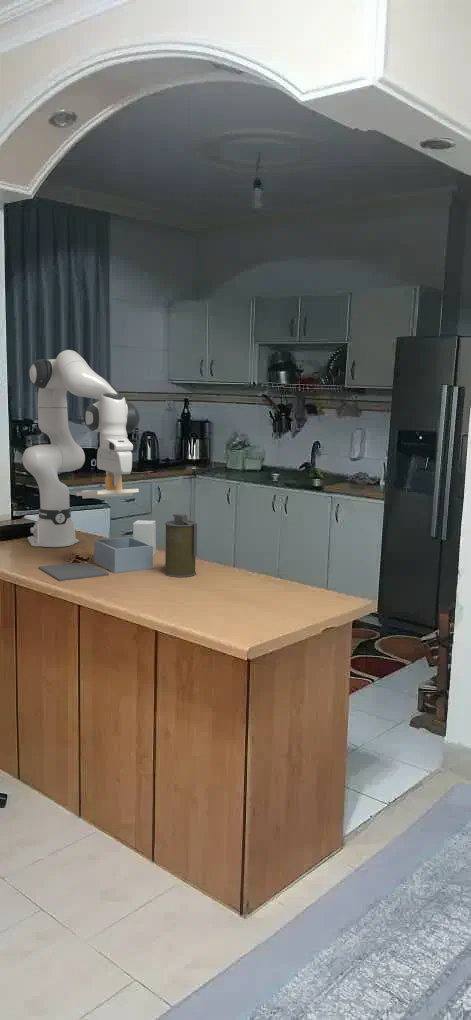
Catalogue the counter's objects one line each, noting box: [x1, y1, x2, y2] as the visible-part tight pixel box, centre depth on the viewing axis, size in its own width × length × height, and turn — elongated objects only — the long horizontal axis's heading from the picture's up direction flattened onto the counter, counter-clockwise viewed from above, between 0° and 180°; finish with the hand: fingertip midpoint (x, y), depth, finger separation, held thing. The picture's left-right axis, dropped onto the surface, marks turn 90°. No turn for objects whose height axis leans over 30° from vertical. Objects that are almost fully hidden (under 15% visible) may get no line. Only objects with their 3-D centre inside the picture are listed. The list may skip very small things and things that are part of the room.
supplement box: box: [132, 519, 157, 557], centre depth 291 cm, size 7×7×13 cm
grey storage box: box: [93, 536, 154, 574], centre depth 274 cm, size 18×14×8 cm
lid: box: [75, 475, 140, 499], centre depth 266 cm, size 19×15×7 cm
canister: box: [164, 513, 198, 578], centre depth 263 cm, size 11×10×20 cm
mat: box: [38, 562, 110, 582], centre depth 264 cm, size 20×17×1 cm
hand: (113, 485), depth 261 cm, fingers closed on lid, 2 cm apart
